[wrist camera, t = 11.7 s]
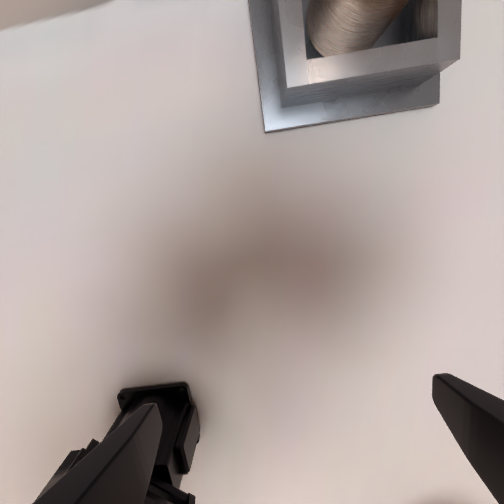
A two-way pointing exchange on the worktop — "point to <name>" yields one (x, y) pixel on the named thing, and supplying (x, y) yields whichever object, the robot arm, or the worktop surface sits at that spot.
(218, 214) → the worktop surface
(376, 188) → the worktop surface
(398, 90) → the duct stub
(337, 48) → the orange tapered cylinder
